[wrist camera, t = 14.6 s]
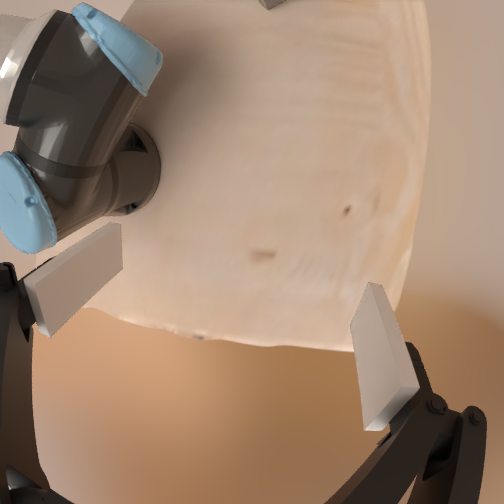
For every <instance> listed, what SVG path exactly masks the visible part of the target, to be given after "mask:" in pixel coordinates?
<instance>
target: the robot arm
mask: <svg viewBox="0 0 504 504" xmlns="http://www.w3.org/2000/svg"><path fill="white" fill-rule="evenodd" d="M71 12H72V14H69V13H66V12H62V11H59V10H53V11H51V12H49V13H47V14H45V15H43V16H41V17H39V18H36V19H33V20H31V19H27V18H23V17H18V16H13V15H7V14H2V13H0V118H1V120H2V122H3V124H7V125H12V126H17V127H19V131H18V134H17V138H16V141H15V145H14V148H13V150H12V152H10V151H6V152H3V153H2V155H0V228H1V230H2V232H3V234H4V235H5V237H6V238H7V239H8V241H9V242H10V243H11V244H12V245H13V246H14V247H15V248H16V249H18V250H20V251H21V252H23V253H27V254H35V253H38V252H40V251H42V250H45V249H47V248H49V247H53V246H54V245H56V243H57V242H58V241H60V240H61V239H63V238H65V237H66V236H68V235H70V234H72V233H73V232H75V231H77V230H78V229H80V228H82V227H84V226H85V225H87V224H89V223H91V222H92V221H94V220H96V219H98V218H100V217H101V216H125V215H128V214H131V213H133V212H135V211H137V210H138V209H140V208H142V207H143V206H145V205H146V204H147V203H148V202H149V201H150V199H151V198H152V196H153V195H154V193H155V191H156V189H157V186H158V182H159V178H160V159H159V155H158V151H157V148H156V146H155V144H154V142H153V140H152V139H151V137H150V136H149V135H148V134H147V132H146V131H144V130H143V129H142V128H141V127H139V126H137V125H135V124H132V123H129V122H130V120H131V118H132V116H133V115H134V113H135V111H136V110H137V108H138V106H139V105H140V103H141V102H142V100H143V98H144V97H146V96H147V95H148V90H149V88H150V86H151V84H152V83H153V81H154V79H155V78H156V76H157V74H158V73H159V71H160V69H161V67H162V65H163V55H162V52H161V51H160V50H159V48H157V47H156V46H155V45H154V44H152V43H151V42H149V41H148V40H147V39H145V38H144V37H142V36H141V35H139V34H138V33H136V32H135V31H133V30H132V29H130V28H128V27H127V26H125V25H124V24H122V23H120V22H119V21H117V20H115V19H114V18H112V17H110V16H108V15H107V14H105V13H103V12H101V11H99V10H97V9H96V8H93V7H92V6H90V5H88V4H86V3H80V4H78V5H77V6H76V7H74V8H73V9H72V11H71ZM122 269H123V263H122V237H121V224H116V223H112V222H110V223H108V224H106V225H105V226H103V227H101V228H100V229H98V230H96V231H95V232H93V233H91V234H90V235H88V236H87V237H85V238H83V239H82V240H80V241H79V242H77V243H76V244H74V245H72V246H71V247H69V248H68V249H66V250H65V251H63V252H62V253H60V254H59V255H57V256H55V257H52V258H50V259H48V260H47V261H45V262H44V263H43V264H42V265H40V266H38V267H37V269H36V268H35V269H34V270H33V271H31V272H30V273H29V274H27V275H26V276H24V277H23V278H21V279H20V280H19V281H18V280H17V276H16V272H15V268H14V265H13V264H12V263H10V262H3V263H0V504H74V503H72V502H71V501H69V500H67V499H66V498H64V497H63V496H61V495H59V494H58V493H56V492H55V491H53V490H52V489H50V486H49V482H48V480H47V478H46V475H45V474H44V472H43V470H42V468H41V467H40V463H39V458H38V453H37V445H36V438H35V430H34V419H33V408H32V407H33V405H32V346H33V328H32V325H33V324H34V323H35V322H36V323H37V326H38V329H39V331H40V332H41V333H42V334H44V335H46V336H48V337H49V338H51V337H52V336H53V335H54V334H55V333H56V332H57V331H58V330H59V329H60V328H61V327H62V326H63V325H64V324H65V323H66V322H67V321H68V320H69V319H70V318H71V317H72V316H73V315H74V314H75V313H76V312H77V311H78V310H79V309H80V308H81V307H82V306H83V305H84V304H85V303H86V302H87V301H88V300H89V299H91V298H92V297H93V296H94V295H95V294H96V293H97V292H98V291H99V290H100V289H101V288H102V287H103V286H104V285H105V284H107V283H108V282H109V281H110V280H111V279H112V278H113V277H114V276H115V275H116V274H118V273H119V272H120V271H121V270H122ZM350 328H351V334H352V340H353V346H354V352H355V358H356V365H357V371H358V379H359V386H360V394H361V403H362V412H363V422H364V430H371V431H382V430H383V429H384V428H385V426H387V425H388V423H389V424H390V432H389V433H388V434H387V435H386V436H385V437H384V438H383V439H382V440H381V441H379V442H378V443H377V444H378V446H377V448H376V449H375V450H374V452H372V454H371V455H370V456H369V457H368V458H367V460H366V461H365V462H364V463H363V464H362V466H360V468H359V469H358V470H357V471H356V472H355V473H354V474H353V475H352V476H351V478H350V479H349V480H348V481H347V482H346V483H345V484H344V485H343V486H342V487H341V488H340V489H339V490H338V491H337V492H336V493H335V494H334V495H333V496H332V497H331V498H330V499H329V500H328V501H326V503H324V504H398V502H399V501H400V499H401V498H402V497H403V495H404V493H405V492H406V491H407V489H408V488H409V486H410V485H411V483H412V482H413V480H414V478H415V477H416V475H417V477H416V480H415V483H414V486H413V489H412V492H411V495H410V497H409V500H408V502H407V504H478V499H479V494H480V488H481V483H482V476H483V468H484V460H485V449H486V431H487V421H486V417H485V415H484V413H483V412H482V411H481V410H480V409H479V408H478V407H476V406H468V407H467V408H466V409H465V410H464V411H463V412H462V413H459V412H456V411H453V410H450V409H448V405H447V403H446V402H445V400H444V399H443V398H442V397H441V396H439V395H437V394H435V393H433V391H432V388H431V385H430V382H429V379H428V377H427V374H426V371H425V369H424V366H423V363H422V362H421V357H420V355H419V352H418V350H417V349H416V348H415V347H414V345H413V344H412V343H409V342H405V341H404V339H403V336H402V333H401V331H400V328H399V325H398V323H397V320H396V318H395V315H394V313H393V310H392V308H391V305H390V303H389V300H388V298H387V296H386V293H385V291H384V289H383V286H382V285H379V284H375V283H370V282H368V285H367V287H366V290H365V292H364V294H363V297H362V299H361V301H360V304H359V306H358V308H357V310H356V313H355V315H354V317H353V319H352V322H351V324H350ZM8 486H10V488H11V490H9V487H8Z"/></svg>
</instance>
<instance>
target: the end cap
mask: <svg viewBox="0 0 504 504" xmlns="http://www.w3.org/2000/svg"><path fill="white" fill-rule="evenodd" d="M258 1H259V2H260V3H261V4H262V5H263V6H264V7H265V8H266V9H267V10H269V9H270V8H272V7H274V6H276V5H278V4H280V3H282V2H284V1H286V0H258Z"/></svg>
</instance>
